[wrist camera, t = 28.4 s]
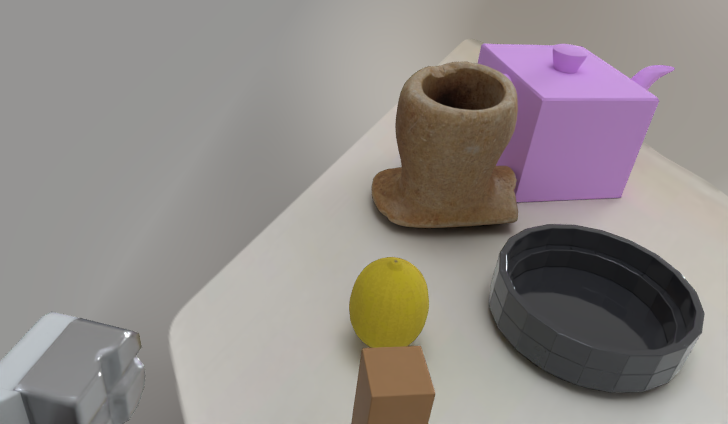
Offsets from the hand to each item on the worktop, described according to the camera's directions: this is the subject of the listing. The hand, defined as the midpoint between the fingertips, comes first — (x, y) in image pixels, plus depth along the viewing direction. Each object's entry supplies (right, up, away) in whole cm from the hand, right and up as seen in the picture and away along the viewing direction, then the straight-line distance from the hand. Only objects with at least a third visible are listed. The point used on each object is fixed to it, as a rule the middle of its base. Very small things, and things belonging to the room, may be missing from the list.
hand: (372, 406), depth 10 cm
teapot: (+21, +9, +62) cm, 66 cm away
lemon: (+1, -7, +35) cm, 36 cm away
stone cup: (+8, +3, +51) cm, 52 cm away
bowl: (+17, -6, +40) cm, 44 cm away
